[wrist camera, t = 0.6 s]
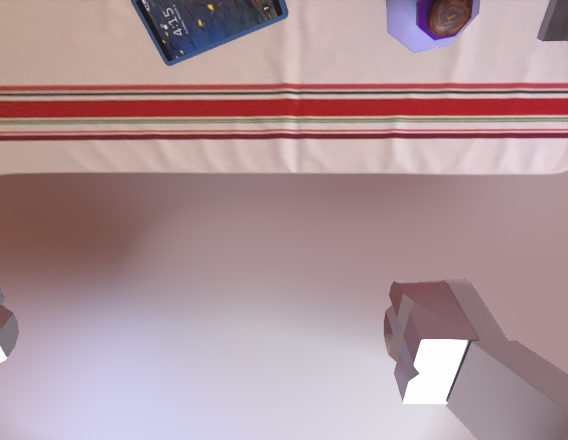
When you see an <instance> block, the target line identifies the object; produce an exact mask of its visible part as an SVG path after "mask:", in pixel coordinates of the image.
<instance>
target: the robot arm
mask: <svg viewBox="0 0 568 440" xmlns="http://www.w3.org/2000/svg"><path fill="white" fill-rule="evenodd" d="M389 296H390V299H391V302H392V306H391V307H389V308H388V309H387V310H386V313H385V319H384V337H385V343H386V347H387V351H388V354H389V356H391V357H392V358H393V359H394V360H395V361H396V362H397V364H396V368H395V372H394V375H395V378H396V381H397V384H398V387H399V391H400V394H401V397H402V400H403V403H437V404H439V403H441V404H446V406H447V407H448V409H449V410H450V411H451V412H452V413H453V414H454V415H455V416H456V417H457V418H458V419H459V420H460V421H461V422H462V423H463V424H464V425H465V426H466V428H467V429H468V430H469V431H470V432H471V433H472V434H473V435H474V436H475V437H476V438H477V439H478V440H568V374H567V373H565V372H564V371H562V370H560V369H559V368H557V367H556V366H554V365H553V364H551V363H550V362H548V361H547V360H545V359H544V358H542V357H541V356H539V355H537V354H536V353H535V352H533V351H531V350H530V349H528V348H527V347H525V346H524V345H522V344H521V343H519V342H518V341H508V339H507V337H506V336H505V334H504V333H503V331H502V330H501V328H500V327H499V325H498V324H497V322H496V321H495V319H494V317H493V316H492V314H491V313H490V311H489V310H488V308H487V307H486V305H485V303H484V302H483V300H482V299H481V297H480V296H479V294H478V293H477V291H476V290H475V288H474V286H473V285H472V283H471V282H469V281H468V280H465V279H464V280H442V281H439V280H437V281H394V282H393V284H392V285H391V289H390V293H389ZM4 300H5V295H4V294H3V292H2V290H1V288H0V363H1V362H2V361H4V360H5V359H7V358H8V356H9V355H10V353H11V352H12V350H13V349H14V347H15V345H16V341H17V337H18V334H19V329H18V322H17V319H16V317H15V315H14V313H13V312H11V311H10V310H8V309H7V308H5V307H4V306H2V304H3V302H4Z"/></svg>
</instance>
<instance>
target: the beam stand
mask: <svg viewBox="0 0 568 440" xmlns="http://www.w3.org/2000/svg"><path fill="white" fill-rule="evenodd" d="M537 38H538V39H539V40H541V41H568V0H550V3H549V6H548V9H547V12H546V14H545V17H544V20H543V23H542V26H541V29H540V31H539V34H538V37H537Z"/></svg>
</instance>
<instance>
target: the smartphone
mask: <svg viewBox="0 0 568 440" xmlns="http://www.w3.org/2000/svg"><path fill="white" fill-rule="evenodd" d="M131 2H132V4H133V6H134V8H135V9H136V11H137V13H138V15H139V17H140V19H141V20H142V22H143V24H144V26H145V28H146V29H147V31H148V33H149V35H150V37H151V39H152V40H153V42H154V44H155V46H156V48H157V49H158V51H159V53H160V55H161V57H162V59H163V60H164V62H165V64H166V65H168V66H171V65H174V64H176V63H179V62H181V61H184V60H186V59H188V58H191V57H193V56H196V55H198V54H201V53H203V52H205V51H208V50H210V49H213V48H215V47H218V46H220V45H222V44H225V43H227V42H230V41H232V40H235V39H237V38H239V37H242V36H244V35H247V34H249V33H251V32H254V31H256V30H259V29H261V28H264V27H266V26H268V25H271V24H273V23H276V22H278V21H281V20H283V19H285V18H286V17H287V16H288V10H287V7H286V4H285V1H284V0H131Z"/></svg>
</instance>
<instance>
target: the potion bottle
mask: <svg viewBox="0 0 568 440" xmlns="http://www.w3.org/2000/svg"><path fill="white" fill-rule="evenodd" d="M386 7H387V31H388V33H389V34H390V35H391V36H393V37H394V38H395V39H396V40H398V41H399V42H400V43H402V44H403V45H404V46H405V47H407V48H408V49H409V50H410V51H412V52H413V53H417V52H422V51H427V50H432V49H437V48H442V47H447V46H450V45H451V44H452V43H453V42H454V41H455V40H456V38H457V37H458V36H459V35H460V34H461V33H462V32H463V30H464V29H465V28H466V27H467V26H468V25H469V24H470V23H471V21H472V20H473V19H474V18H475V17H476V16H477V15H478V13H479V7H480V0H386Z"/></svg>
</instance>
